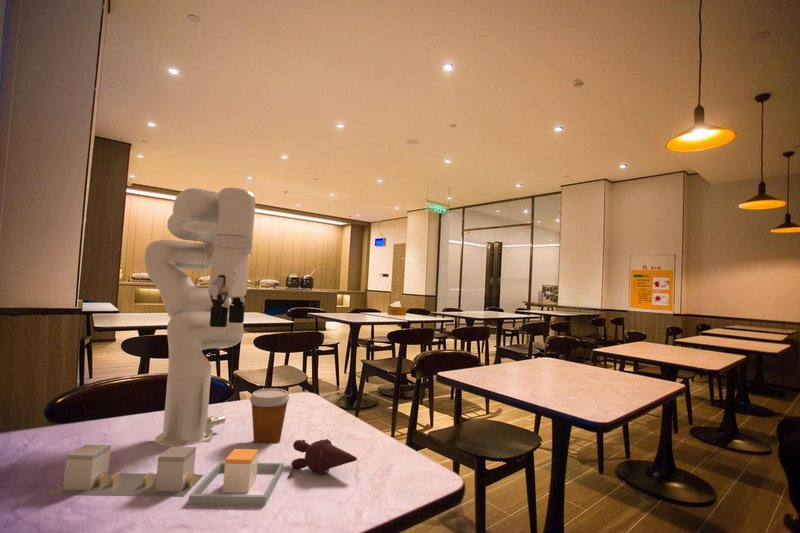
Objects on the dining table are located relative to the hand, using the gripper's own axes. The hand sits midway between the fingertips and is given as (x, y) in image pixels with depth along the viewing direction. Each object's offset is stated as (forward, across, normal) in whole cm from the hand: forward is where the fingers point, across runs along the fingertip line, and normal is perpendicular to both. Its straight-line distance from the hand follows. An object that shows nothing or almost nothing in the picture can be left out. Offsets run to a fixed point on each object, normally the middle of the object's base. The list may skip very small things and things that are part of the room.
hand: (227, 324), depth 82 cm
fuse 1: (+29, +8, -20) cm, 37 cm away
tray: (+30, +8, +8) cm, 32 cm away
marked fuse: (+30, +8, +8) cm, 32 cm away
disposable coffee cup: (+31, -15, +6) cm, 35 cm away
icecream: (+31, 0, +22) cm, 38 cm away
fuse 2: (+29, +8, -4) cm, 31 cm away
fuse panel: (+30, +8, -12) cm, 34 cm away
